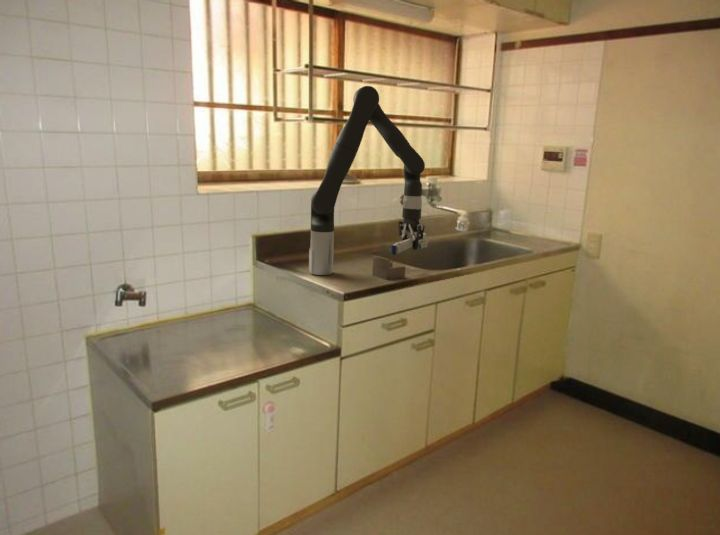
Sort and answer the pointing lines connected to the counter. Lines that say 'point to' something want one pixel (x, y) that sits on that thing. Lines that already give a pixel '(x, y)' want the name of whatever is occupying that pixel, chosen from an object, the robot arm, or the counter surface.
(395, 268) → the cup bracket
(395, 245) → the grey piece
